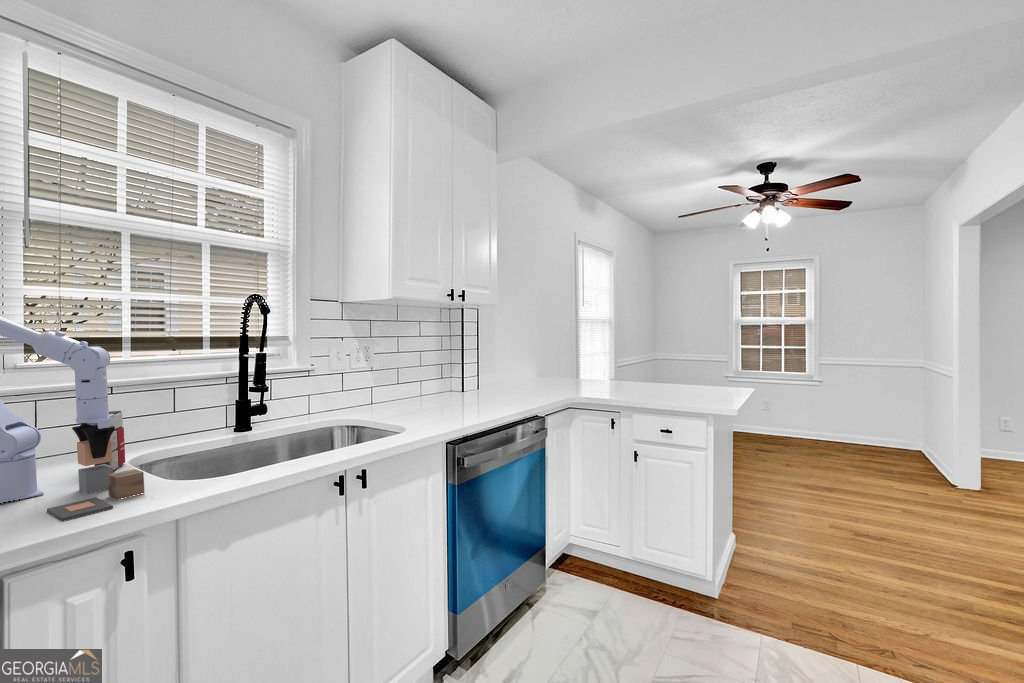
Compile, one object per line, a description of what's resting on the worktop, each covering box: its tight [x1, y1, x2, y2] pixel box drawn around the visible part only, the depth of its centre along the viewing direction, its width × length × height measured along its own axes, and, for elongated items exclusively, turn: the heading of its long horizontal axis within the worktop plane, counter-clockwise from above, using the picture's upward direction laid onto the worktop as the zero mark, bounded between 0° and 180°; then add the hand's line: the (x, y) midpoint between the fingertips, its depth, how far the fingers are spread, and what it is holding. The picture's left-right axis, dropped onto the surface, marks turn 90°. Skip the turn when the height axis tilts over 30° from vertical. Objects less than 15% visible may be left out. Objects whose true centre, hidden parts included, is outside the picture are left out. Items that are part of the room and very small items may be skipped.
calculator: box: [94, 410, 126, 471], centre depth 133 cm, size 11×4×15 cm, turn 22°
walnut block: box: [108, 468, 145, 501], centre depth 112 cm, size 5×5×5 cm
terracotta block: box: [76, 440, 112, 467], centre depth 116 cm, size 5×5×5 cm
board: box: [46, 496, 114, 522], centre depth 103 cm, size 10×8×1 cm
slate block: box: [77, 464, 114, 494], centre depth 117 cm, size 5×5×5 cm
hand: (94, 456), depth 117 cm, fingers closed on terracotta block, 5 cm apart
